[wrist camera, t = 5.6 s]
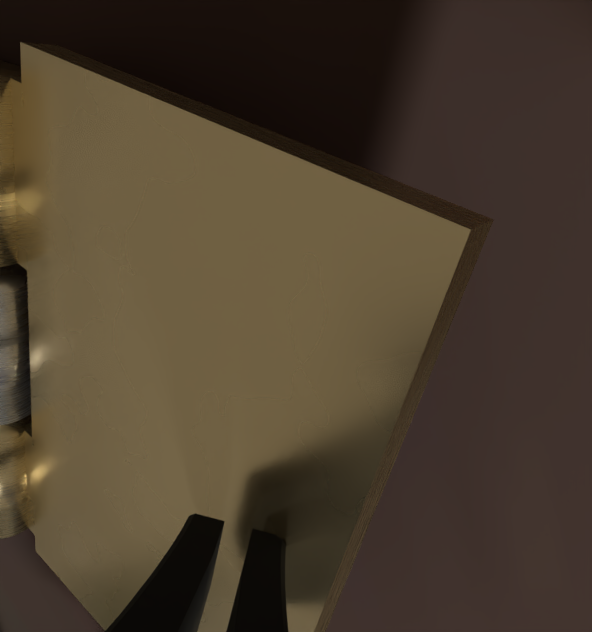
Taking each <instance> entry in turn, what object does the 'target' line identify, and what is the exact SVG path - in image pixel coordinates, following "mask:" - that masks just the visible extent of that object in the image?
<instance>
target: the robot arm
mask: <svg viewBox="0 0 592 632" xmlns="http://www.w3.org/2000/svg"><path fill="white" fill-rule="evenodd" d="M224 522H225V521H222V520H219V519H215V518H211V517H207V516H204V515H200V514H196V513H195V514H192V515H190V516H189V517H188V519H187V520H186V522H185V524H184V526H183V528H182V529H181V531H180V533H179V534H178V536H177V538H176V539H175V541H174V542H173V544H172V545H171V547H170V548H169V550H168V551H167V553H166V554H165V556H164V557H163V559H162V560H161V561H160V563H159V564H158V566H157V567H156V568H155V570H154V571H153V573H152V574H151V575H150V577H149V578H148V579H147V580H146V582H145V583H144V584H143V586H142V587H141V588H140V589H139V591H138V592H137V593H136V595H135V596H134V597H133V598H132V600H131V601H130V602H129V603H128V605H127V606H126V607H125V609H124V610H123V611H122V612H121V613H120V615H119V616H118V617H117V618H116V619H115V620H114V622H113V623H112V624H111V625H110V626H109V627H108V628H107V630H106V631H105V632H197V631H198V628H199V624H200V621H201V617H202V614H203V611H204V607H205V604H206V600H207V597H208V593H209V590H210V586H211V582H212V578H213V573H214V569H215V564H216V559H217V555H218V550H219V545H220V541H221V536H222V532H223V527H224ZM285 555H286V545H285V543H284V541H283V539H282V538H280V537H279V536H277V535H275V534H272V533H268V532H264V531H260V530H256V529H252V533H251V537H250V541H249V545H248V549H247V553H246V556H245V560H244V564H243V568H242V572H241V576H240V580H239V584H238V588H237V592H236V596H235V599H234V603H233V607H232V611H231V615H230V619H229V623H228V627H227V631H226V632H289V631H288V621H287V609H286V590H285Z"/></svg>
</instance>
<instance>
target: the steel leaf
mask: <svg viewBox="0 0 592 632" xmlns="http://www.w3.org/2000/svg"><path fill="white" fill-rule="evenodd" d="M30 414H31V384H30V350H29V317H28V284H27V270H26V269H25V268H23V267H22V266H21V265H19V264H18V263H17V264H14V265H10V266H4V267H0V425H5V424H9V423H13V422H16V421H18V420H21V419H23V418H25V417H26V416H28V415H30Z"/></svg>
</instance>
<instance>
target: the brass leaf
mask: <svg viewBox="0 0 592 632" xmlns="http://www.w3.org/2000/svg"><path fill="white" fill-rule="evenodd" d="M20 51H21V66H18V65H15V64H12V63H8V62H4V61H0V267H4V266H10V265H14V264H17V263H18V264H19V265H21V266H22V267H23V268H25V269H26V270H27V284H28V317H29V350H30V384H31V414H30V415H28V416H26V417H25V418H23V419H21V420H18V421H16V422H13V423H9V424H5V425H0V538H7V537H11V536H14V535H16V534H19V533H21V532H23V531H24V530H26V529H27V528H29V529H30V530H31V531H32V533H33V534H34V535H35V550H36V552H37V553H38V554H39V555H40V557H41V558H42V559H43V560H44V561H45V562H46V563H47V565H48V566H49V567H50V568H51V569H52V570H53V572H54V573H55V574H56V575H57V576H58V577H59V578H60V580H61V581H62V582H63V583H64V584H65V585H66V587H67V588H68V589H69V590H70V591H71V592H72V593H73V595H74V596H75V597H76V598H77V599H78V600H79V602H80V603H81V604H82V605H83V606H84V607H85V608H86V610H87V611H88V612H89V613H90V614H91V615H92V616H93V618H94V619H95V620H96V621H97V622H98V623H99V625H100V626H101V627H102V628H103V629H104V630H105V631H106V630H107V628H108V627H109V626H110V625H111V624H112V623H113V622H114V620H115V619H116V618H117V617H118V616H119V615H120V613H121V612H122V611H123V610H124V609H125V607H126V606H127V605H128V603H129V602H130V601H131V600H132V598H133V597H134V596H135V595H136V593H137V592H138V591H139V589H140V588H141V587H142V586H143V584H144V583H145V582H146V580H147V579H148V578H149V577H150V575H151V574H152V573H153V571H154V570H155V568H156V567H157V566H158V564H159V563H160V561H161V560H162V559H163V557H164V556H165V554H166V553H167V551H168V550H169V548H170V547H171V545H172V544H173V542H174V541H175V539H176V538H177V536H178V534H179V533H180V531H181V529H182V528H183V526H184V524H185V522H186V520H187V519H188V517H189V516H190V515H192V514H195V513H196V514H200V515H204V516H207V517H211V518H215V519H219V520H222V521H225V522H224V527H223V532H222V536H221V541H220V545H219V550H218V555H217V559H216V564H215V569H214V573H213V578H212V582H211V586H210V590H209V593H208V597H207V600H206V604H205V607H204V611H203V614H202V617H201V621H200V624H199V628H198V631H197V632H226V631H227V627H228V623H229V619H230V615H231V611H232V607H233V603H234V599H235V596H236V592H237V588H238V584H239V580H240V576H241V572H242V568H243V564H244V560H245V556H246V553H247V549H248V545H249V541H250V537H251V533H252V529H256V530H260V531H264V532H268V533H272V534H275V535H277V536H279V537H280V538H282V539H283V541H284V543H285V545H286V555H285V590H286V609H287V621H288V631H289V632H325V631H326V629H327V627H328V624H329V622H330V619H331V617H332V614H333V612H334V609H335V607H336V605H337V602H338V600H339V597H340V595H341V592H342V590H343V587H344V585H345V582H346V580H347V578H348V575H349V573H350V570H351V568H352V565H353V563H354V560H355V558H356V556H357V553H358V551H359V548H360V546H361V543H362V541H363V538H364V536H365V533H366V531H367V529H368V526H369V524H370V521H371V519H372V516H373V514H374V511H375V509H376V507H377V504H378V502H379V499H380V497H381V494H382V492H383V489H384V487H385V484H386V482H387V480H388V477H389V475H390V472H391V470H392V467H393V465H394V462H395V460H396V458H397V455H398V453H399V450H400V448H401V445H402V443H403V440H404V438H405V435H406V433H407V431H408V428H409V426H410V423H411V421H412V418H413V416H414V413H415V411H416V409H417V406H418V404H419V401H420V399H421V396H422V394H423V391H424V389H425V386H426V384H427V382H428V379H429V377H430V374H431V372H432V369H433V367H434V364H435V362H436V360H437V357H438V355H439V352H440V350H441V347H442V345H443V342H444V340H445V337H446V335H447V333H448V330H449V328H450V325H451V323H452V320H453V318H454V315H455V313H456V311H457V308H458V306H459V303H460V301H461V298H462V296H463V293H464V291H465V288H466V286H467V284H468V281H469V279H470V276H471V274H472V271H473V269H474V266H475V264H476V262H477V259H478V257H479V254H480V252H481V249H482V247H483V244H484V242H485V239H486V237H487V235H488V232H489V230H490V227H491V225H492V222H493V219H491V218H488V217H486V216H483V215H481V214H478V213H476V212H473V211H471V210H468V209H466V208H463V207H461V206H458V205H456V204H453V203H451V202H448V201H446V200H443V199H441V198H438V197H436V196H433V195H431V194H428V193H426V192H423V191H421V190H418V189H416V188H413V187H411V186H408V185H406V184H403V183H401V182H398V181H396V180H393V179H391V178H388V177H386V176H383V175H381V174H378V173H376V172H373V171H371V170H368V169H366V168H363V167H361V166H358V165H356V164H353V163H351V162H348V161H346V160H343V159H341V158H338V157H336V156H333V155H331V154H328V153H326V152H323V151H321V150H318V149H316V148H313V147H311V146H308V145H306V144H303V143H301V142H298V141H296V140H293V139H291V138H288V137H286V136H283V135H281V134H278V133H276V132H273V131H271V130H268V129H266V128H263V127H261V126H258V125H256V124H253V123H250V122H248V121H245V120H243V119H240V118H238V117H235V116H233V115H230V114H228V113H225V112H223V111H220V110H218V109H215V108H213V107H210V106H208V105H205V104H203V103H200V102H198V101H195V100H193V99H190V98H188V97H185V96H183V95H180V94H178V93H175V92H173V91H170V90H168V89H165V88H163V87H160V86H158V85H155V84H153V83H150V82H148V81H145V80H143V79H140V78H138V77H135V76H133V75H130V74H128V73H125V72H123V71H120V70H118V69H115V68H113V67H110V66H108V65H105V64H103V63H100V62H98V61H95V60H93V59H90V58H88V57H85V56H83V55H80V54H78V53H75V52H73V51H70V50H68V49H65V48H63V47H60V46H58V45H51V44H39V43H28V42H20Z"/></svg>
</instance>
